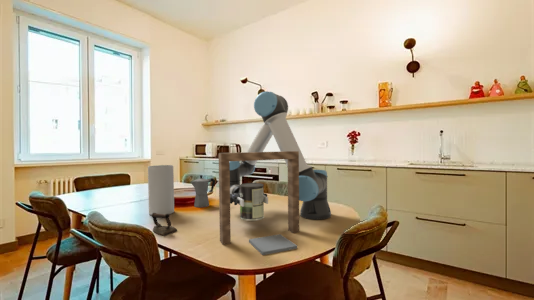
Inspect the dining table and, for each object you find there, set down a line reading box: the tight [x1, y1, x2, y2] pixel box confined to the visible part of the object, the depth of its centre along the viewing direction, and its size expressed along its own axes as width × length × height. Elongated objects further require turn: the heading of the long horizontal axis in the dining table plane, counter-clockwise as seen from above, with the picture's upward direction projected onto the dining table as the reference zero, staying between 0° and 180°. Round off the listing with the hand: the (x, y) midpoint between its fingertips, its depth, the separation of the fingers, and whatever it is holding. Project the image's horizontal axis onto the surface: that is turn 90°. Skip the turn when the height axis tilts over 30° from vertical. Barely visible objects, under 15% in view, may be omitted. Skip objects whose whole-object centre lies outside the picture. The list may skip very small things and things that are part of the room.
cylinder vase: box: [147, 164, 175, 216], centre depth 142 cm, size 12×12×25 cm
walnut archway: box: [218, 151, 300, 246], centre depth 105 cm, size 32×4×33 cm, turn 114°
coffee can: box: [239, 182, 265, 222], centre depth 114 cm, size 10×10×14 cm
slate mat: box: [248, 233, 298, 256], centre depth 96 cm, size 13×13×1 cm
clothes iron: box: [151, 213, 178, 237], centre depth 112 cm, size 7×11×10 cm, turn 60°
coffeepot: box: [189, 174, 216, 208], centre depth 159 cm, size 15×9×18 cm, turn 125°
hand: (255, 201), depth 110 cm, fingers closed on coffee can, 10 cm apart
